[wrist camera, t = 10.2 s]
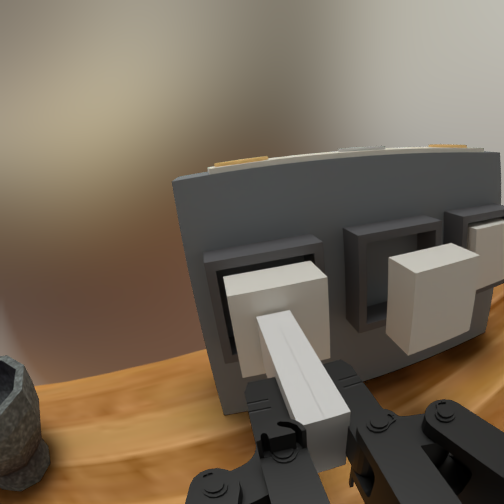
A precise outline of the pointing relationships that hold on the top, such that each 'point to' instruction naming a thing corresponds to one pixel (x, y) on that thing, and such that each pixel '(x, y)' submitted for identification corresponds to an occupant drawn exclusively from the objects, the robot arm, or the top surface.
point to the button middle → (430, 296)
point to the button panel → (331, 239)
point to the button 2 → (488, 249)
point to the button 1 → (278, 308)
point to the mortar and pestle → (20, 429)
